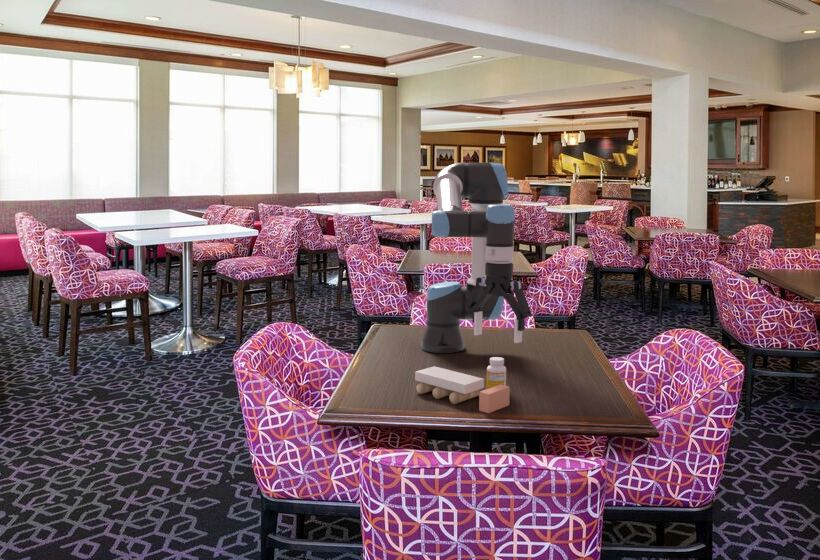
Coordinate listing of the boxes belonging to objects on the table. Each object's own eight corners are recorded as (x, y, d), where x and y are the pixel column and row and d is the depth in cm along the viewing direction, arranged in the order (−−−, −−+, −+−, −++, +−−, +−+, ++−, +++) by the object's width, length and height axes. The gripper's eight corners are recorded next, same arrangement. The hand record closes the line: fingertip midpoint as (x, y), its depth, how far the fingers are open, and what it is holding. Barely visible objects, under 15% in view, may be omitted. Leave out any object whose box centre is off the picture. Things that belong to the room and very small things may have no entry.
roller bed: (416, 392, 190) (416, 382, 189) (440, 385, 197) (440, 375, 196) (458, 405, 179) (458, 394, 179) (481, 396, 187) (481, 386, 186)
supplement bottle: (492, 388, 194) (492, 355, 193) (509, 391, 191) (510, 358, 190) (482, 393, 190) (483, 359, 188) (500, 396, 187) (501, 362, 185)
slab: (415, 380, 191) (415, 371, 191) (434, 374, 197) (434, 366, 196) (465, 394, 179) (465, 384, 178) (483, 387, 184) (484, 378, 184)
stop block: (479, 410, 175) (479, 391, 175) (499, 402, 182) (500, 384, 181) (488, 413, 173) (488, 394, 172) (509, 405, 180) (509, 386, 179)
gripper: (455, 259, 191) (454, 333, 194) (530, 266, 174) (527, 347, 177) (471, 257, 197) (470, 329, 199) (546, 264, 179) (543, 343, 182)
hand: (497, 338), depth 188 cm, fingers open, 13 cm apart
